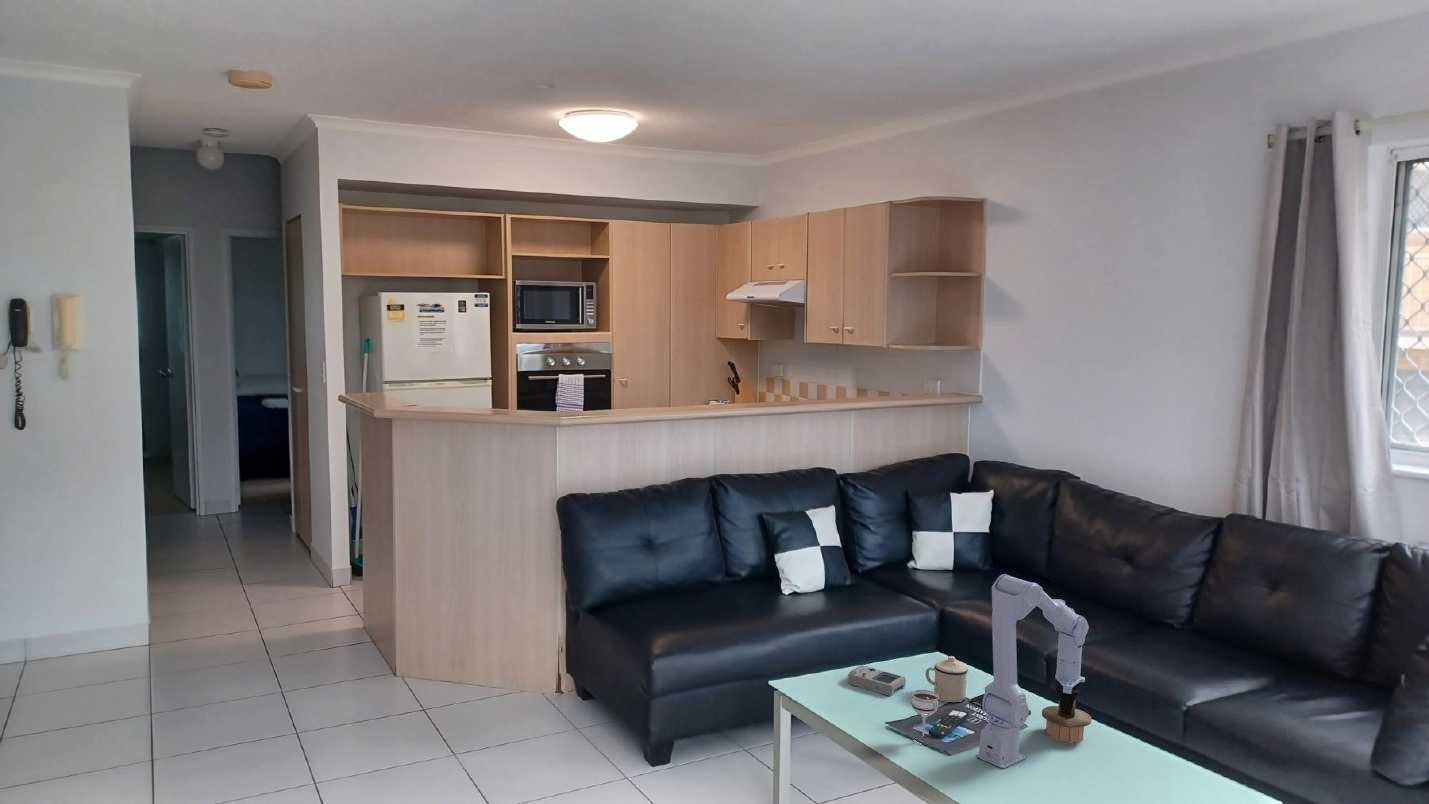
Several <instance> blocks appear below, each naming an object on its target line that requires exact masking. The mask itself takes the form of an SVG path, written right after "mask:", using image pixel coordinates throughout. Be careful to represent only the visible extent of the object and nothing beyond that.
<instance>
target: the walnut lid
mask: <svg viewBox="0 0 1429 804" xmlns="http://www.w3.org/2000/svg"><path fill="white" fill-rule="evenodd" d="M1076 704H1077V703H1076V700H1075V701H1074V703H1073V707H1072V711H1071V714H1070V715H1065V714H1062V713H1061V709H1060V701H1059V700H1058V705H1049V706H1046V707H1044V708H1043V709H1041V716H1042V718H1043V719H1044V720H1045V721H1047V720H1048V721H1050V722H1052V723H1055V724H1058V725H1062V726H1068V727H1084V728H1085V727H1088V726H1089V725H1091V723H1092V716H1091V715H1090V714H1089V713H1087V712H1086V711H1083V710H1081V709H1080V708H1079V709H1078V708H1076Z"/></svg>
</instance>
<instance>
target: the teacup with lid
mask: <svg viewBox="0 0 1429 804" xmlns="http://www.w3.org/2000/svg"><path fill="white" fill-rule="evenodd" d="M930 671H934V681H933V680H932V679H931V677H930V673H929V672H930ZM968 672H969V669H968V666H967V665H966V664H964V663H963V662H961V661H958V660H956V657H955V656H953V655H950V656H948V657H947V658H946V659H944V660H939V661H937V662H935V664H934V666H930V667H928V668H926V670H925V678H926V680H927V682H928V683H929V684H930V685H932V686H934V690H933V692H935V693H937V694H938V695H939V698H938V701H941V702H944V703H947V702H952V701H953V700H956V699H961V698H965V699H966V696H967V679H968V678H967V675H968Z"/></svg>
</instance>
